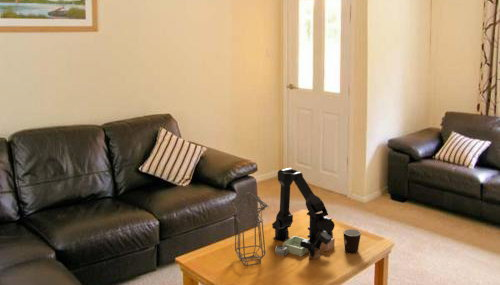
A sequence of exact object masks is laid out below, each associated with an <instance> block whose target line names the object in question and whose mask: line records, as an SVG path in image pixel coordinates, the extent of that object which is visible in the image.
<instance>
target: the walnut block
mask: <svg viewBox="0 0 500 285" xmlns="http://www.w3.org/2000/svg"><path fill="white" fill-rule="evenodd" d="M320 257H321V250H320V249H318V248H315V251H314V256H313V257H312V256H311V255H310V253H309V252H308V258H310V259H313V260H317V259H319V258H320Z"/></svg>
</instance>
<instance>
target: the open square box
mask: <svg viewBox="0 0 500 285" xmlns="http://www.w3.org/2000/svg"><path fill="white" fill-rule="evenodd" d="M335 241H336V240H335V237H334V236H333V238H332V239H331V241H330V242H329V243H328V244H324V243H323V242H322V243H321V246H320V251H323V252H326V253H328V252H329V251H331V250H333V248H335Z"/></svg>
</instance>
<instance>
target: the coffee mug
mask: <svg viewBox="0 0 500 285" xmlns="http://www.w3.org/2000/svg"><path fill="white" fill-rule="evenodd" d="M361 235H362V232H361V231H360V230H358V229H355V228H347V229H344V230H343V243H344V244H343V245H344V251H345V253H346V254H352V255H353V254H357V253H358V252H359V246H360V239H361Z"/></svg>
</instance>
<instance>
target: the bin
mask: <svg viewBox="0 0 500 285" xmlns="http://www.w3.org/2000/svg"><path fill="white" fill-rule="evenodd" d="M304 239H305V238H303V237H300V236H297V235H293V236H292V237H290V238H288V239H287V240H285V241H283V242H282V246H285V247H288V254H293V255H295V256H299V257H303V256H304V255H305V254H308V253H309V251H308V249H307V248H304V247H301V246H300V242H301V241H303V240H304Z"/></svg>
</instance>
